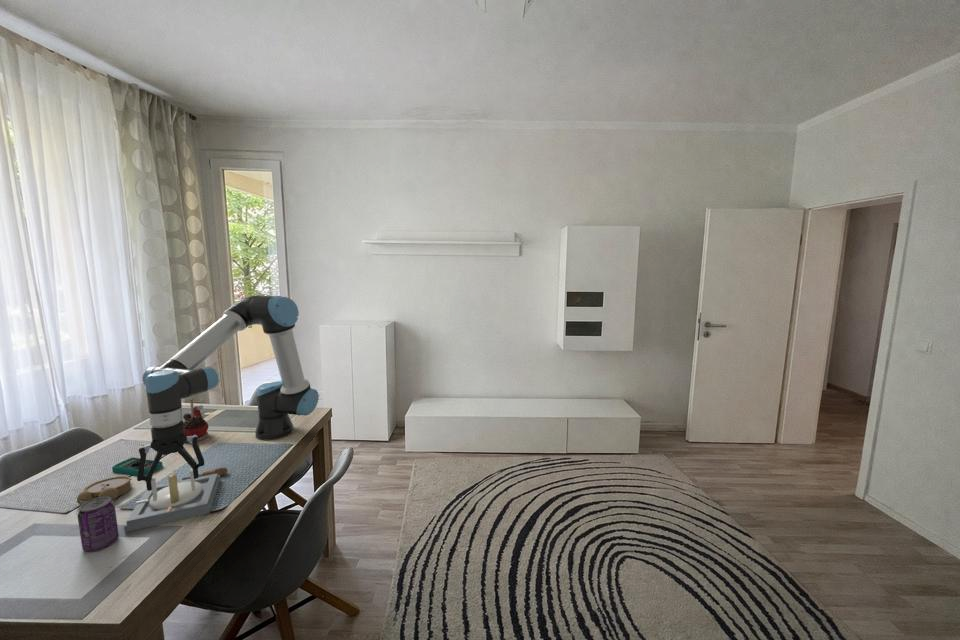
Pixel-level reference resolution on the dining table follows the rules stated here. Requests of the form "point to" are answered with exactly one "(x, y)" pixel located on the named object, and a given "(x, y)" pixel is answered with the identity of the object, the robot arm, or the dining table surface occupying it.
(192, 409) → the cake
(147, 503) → the panel
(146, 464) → the digital multimeter
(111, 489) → the alarm clock
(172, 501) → the dial
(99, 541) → the beverage can
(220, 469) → the screwdriver
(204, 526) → the dining table surface
